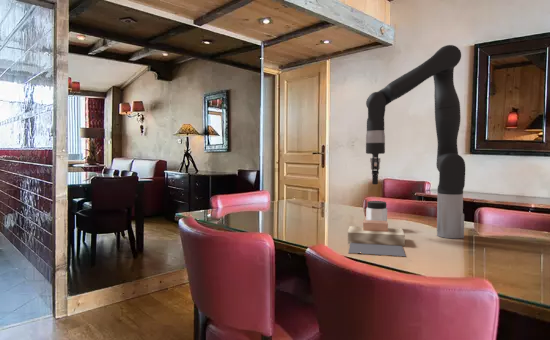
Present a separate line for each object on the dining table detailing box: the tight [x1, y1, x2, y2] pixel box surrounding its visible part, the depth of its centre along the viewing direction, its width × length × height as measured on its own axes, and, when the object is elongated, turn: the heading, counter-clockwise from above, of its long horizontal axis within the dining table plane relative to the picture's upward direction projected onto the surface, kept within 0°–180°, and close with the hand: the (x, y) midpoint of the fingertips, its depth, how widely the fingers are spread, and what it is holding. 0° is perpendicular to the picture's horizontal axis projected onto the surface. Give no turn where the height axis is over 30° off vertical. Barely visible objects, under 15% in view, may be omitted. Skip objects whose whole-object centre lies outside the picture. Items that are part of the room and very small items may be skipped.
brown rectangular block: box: [362, 219, 389, 232], centre depth 138 cm, size 9×6×3 cm, turn 75°
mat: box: [348, 243, 407, 258], centre depth 124 cm, size 18×14×1 cm
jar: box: [365, 200, 388, 222], centre depth 159 cm, size 9×8×12 cm
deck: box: [347, 225, 406, 247], centre depth 136 cm, size 20×12×4 cm, turn 75°
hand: (375, 184), depth 147 cm, fingers closed
